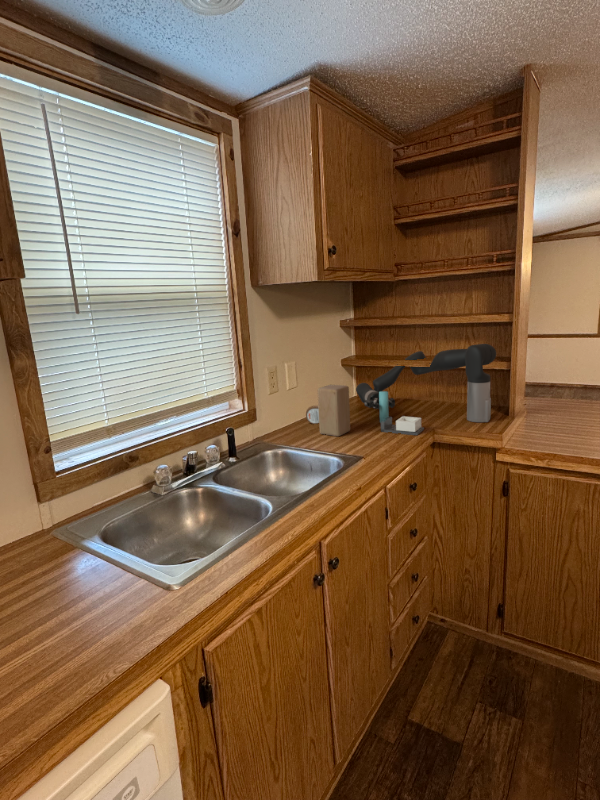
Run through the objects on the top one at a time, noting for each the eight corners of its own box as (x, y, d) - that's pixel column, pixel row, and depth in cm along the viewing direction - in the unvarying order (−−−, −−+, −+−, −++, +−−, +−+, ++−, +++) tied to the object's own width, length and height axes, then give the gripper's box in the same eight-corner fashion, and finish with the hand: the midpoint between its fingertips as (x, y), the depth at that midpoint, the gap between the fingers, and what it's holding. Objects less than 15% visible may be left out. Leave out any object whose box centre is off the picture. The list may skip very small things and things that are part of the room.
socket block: (421, 427, 188) (421, 417, 187) (415, 432, 182) (415, 422, 181) (402, 425, 192) (402, 416, 192) (396, 430, 186) (395, 420, 185)
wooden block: (338, 437, 185) (336, 389, 181) (318, 434, 191) (316, 388, 187) (351, 431, 193) (349, 385, 189) (331, 428, 199) (329, 384, 195)
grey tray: (423, 429, 188) (423, 419, 187) (417, 435, 181) (417, 424, 180) (388, 426, 197) (388, 416, 196) (380, 431, 189) (380, 421, 188)
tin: (338, 422, 209) (337, 404, 208) (338, 423, 206) (337, 405, 205) (306, 423, 211) (305, 405, 209) (305, 424, 208) (304, 407, 206)
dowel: (390, 421, 204) (389, 391, 202) (386, 423, 201) (386, 393, 198) (381, 420, 207) (381, 390, 204) (378, 422, 203) (377, 392, 200)
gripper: (359, 392, 215) (369, 399, 198) (388, 390, 216) (401, 396, 200) (360, 407, 216) (370, 415, 200) (388, 405, 218) (401, 412, 201)
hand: (385, 406), depth 200 cm, fingers open, 5 cm apart
